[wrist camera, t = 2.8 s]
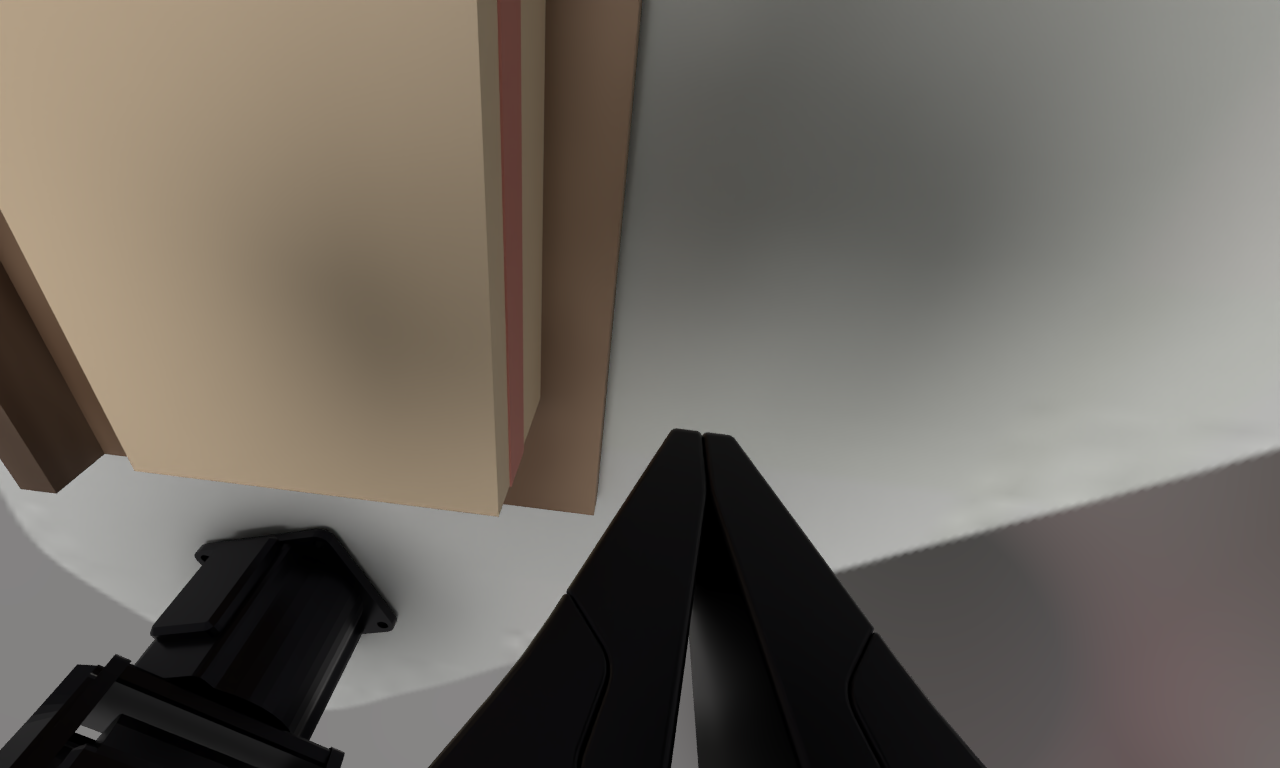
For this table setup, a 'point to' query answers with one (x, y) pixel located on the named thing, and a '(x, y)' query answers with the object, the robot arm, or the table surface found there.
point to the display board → (571, 288)
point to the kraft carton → (290, 232)
